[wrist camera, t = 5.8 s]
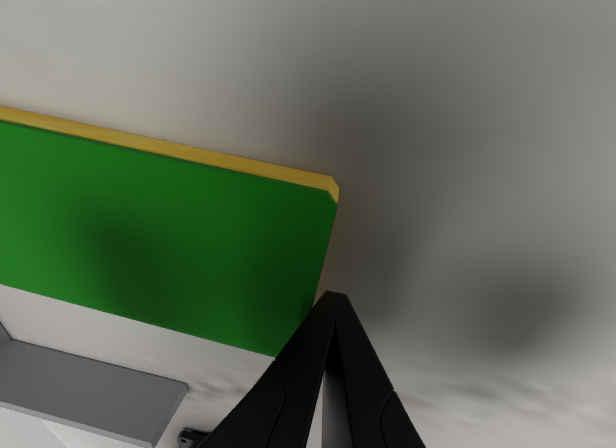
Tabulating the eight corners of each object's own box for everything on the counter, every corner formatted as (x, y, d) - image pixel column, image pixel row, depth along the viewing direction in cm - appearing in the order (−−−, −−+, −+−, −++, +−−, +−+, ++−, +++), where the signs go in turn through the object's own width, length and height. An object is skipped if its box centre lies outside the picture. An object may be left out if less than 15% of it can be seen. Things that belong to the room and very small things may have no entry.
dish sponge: (307, 317, 11) (297, 366, 9) (50, 252, 12) (-15, 282, 10) (341, 176, 8) (340, 198, 6) (-12, 100, 9) (-129, 96, 7)
